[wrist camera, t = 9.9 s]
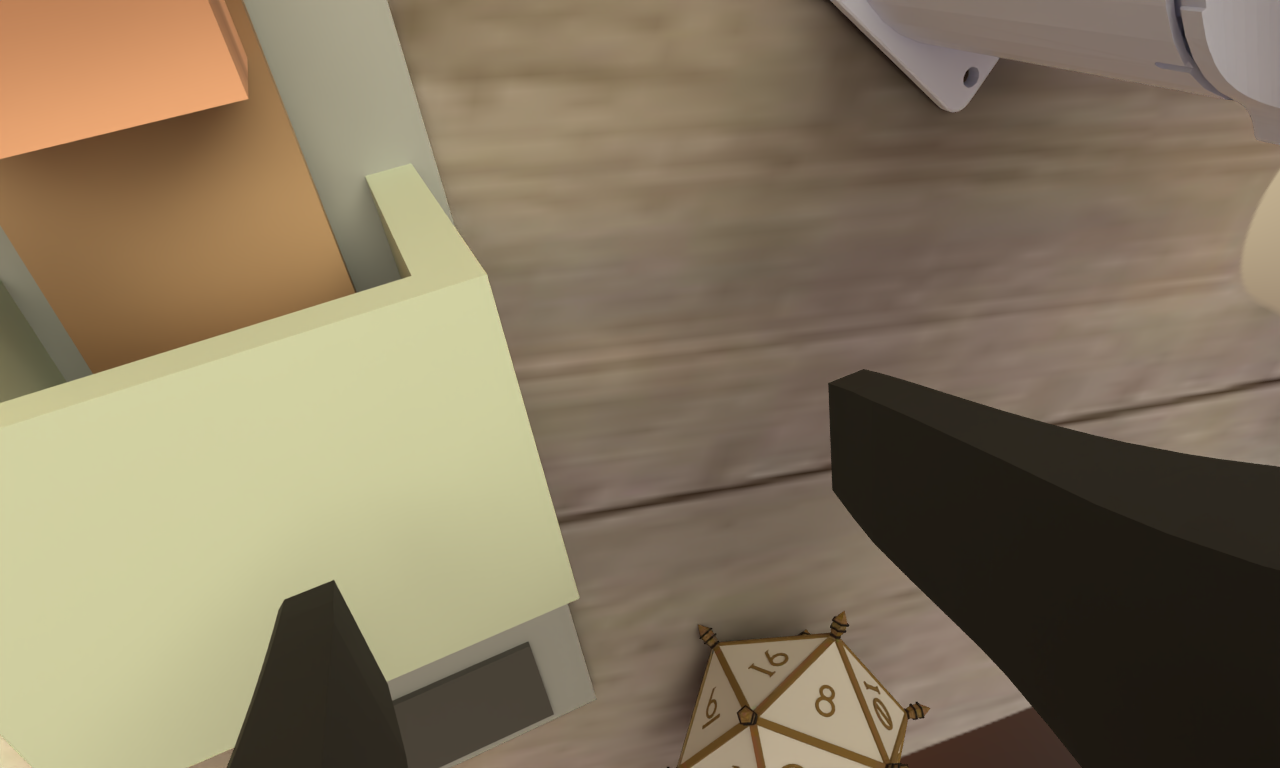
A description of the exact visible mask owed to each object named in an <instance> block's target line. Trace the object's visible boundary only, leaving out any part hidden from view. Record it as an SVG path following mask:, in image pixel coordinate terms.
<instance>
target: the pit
mask: <svg viewBox="0 0 1280 768" xmlns="http://www.w3.org/2000/svg"><path fill="white" fill-rule="evenodd" d="M392 702H393V706H394V709H395V713H396V717H397V721H398V725H399V729H400V733H401V737H402V741H403V745H404V749H405V753H406V757H407V765H408V768H440V767H442V766H444V765H447V764H449V763H451V762H453V761H455V760H457V759H460V758H462V757H464V756H466V755H468V754H470V753H472V752H475V751H477V750H479V749H481V748H483V747H485V746H487V745H490V744H492V743H494V742H496V741H498V740H500V739H502V738H505V737H507V736H509V735H511V734H513V733H515V732H517V731H520V730H522V729H524V728H526V727H528V726H530V725H533V724H535V723H537V722H539V721H541V720H543V719H545V718H548V717H550V716H552V715H554V712H553V710H552V707H551V704H550V701H549V698H548V695H547V693H546V690H545V687H544V684H543V681H542V678H541V675H540V673H539V670H538V667H537V664H536V661H535V658H534V655H533V653H532V650H531V647H530V644H529V642H525V643H523V644H521V645H518V646H516V647H514V648H512V649H509V650H507V651H505V652H503V653H500V654H498V655H496V656H493V657H491V658H489V659H487V660H484V661H482V662H480V663H477V664H475V665H473V666H471V667H468V668H466V669H464V670H461V671H459V672H457V673H455V674H452V675H450V676H448V677H445V678H443V679H441V680H439V681H436V682H434V683H432V684H430V685H427V686H425V687H423V688H420V689H418V690H416V691H414V692H411V693H409V694H407V695H404V696H402V697H400V698H398V699H395V700H393V701H392Z"/></svg>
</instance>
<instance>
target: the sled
mask: <svg viewBox="0 0 1280 768" xmlns="http://www.w3.org/2000/svg"><path fill="white" fill-rule="evenodd" d="M0 226H1V227H2V229H3V230H4V232H5V234H6V235H7V237H8V238H9V240H10V242H11V243H12V245H13V246H14V248H15V250H16V251H17V253H18V254H19V256H20V258H21V259H22V261H23V262H24V264H25V266H26V267H27V269H28V271H29V272H30V274H31V275H32V277H33V279H34V280H35V282H36V283H37V285H38V287H39V288H40V290H41V291H42V293H43V295H44V296H45V298H46V299H47V301H48V303H49V304H50V306H51V307H52V309H53V311H54V312H55V314H56V315H57V317H58V319H59V320H60V322H61V323H62V325H63V327H64V328H65V330H66V331H67V333H68V335H69V336H70V338H71V339H72V341H73V343H74V344H75V346H76V347H77V349H78V351H79V352H80V354H81V355H82V357H83V359H84V360H85V362H86V363H87V365H88V367H89V368H90V370H91V371H92V373H93V374H96V373H99V372H102V371H105V370H109V369H112V368H115V367H118V366H122V365H125V364H128V363H131V362H135V361H138V360H141V359H144V358H148V357H151V356H154V355H157V354H160V353H164V352H167V351H170V350H173V349H177V348H180V347H183V346H186V345H190V344H193V343H196V342H199V341H202V340H206V339H209V338H212V337H215V336H219V335H222V334H225V333H228V332H232V331H235V330H238V329H241V328H245V327H248V326H251V325H254V324H257V323H261V322H264V321H267V320H270V319H274V318H277V317H280V316H283V315H287V314H290V313H293V312H296V311H300V310H303V309H306V308H309V307H312V306H316V305H319V304H322V303H325V302H329V301H332V300H335V299H338V298H342V297H345V296H348V295H351V294H355V293H357V292H356V289H355V287H354V284H353V281H352V279H351V276H350V274H349V271H348V269H347V266H346V263H345V261H344V258H343V256H342V253H341V251H340V248H339V245H338V243H337V240H336V238H335V235H334V233H333V230H332V227H331V225H330V222H329V220H328V217H327V214H326V212H325V209H324V207H323V204H322V202H321V199H320V196H319V194H318V191H317V189H316V186H315V184H314V181H313V178H312V176H311V173H310V171H309V168H308V166H307V163H306V160H305V158H304V155H303V153H302V150H301V147H300V145H299V142H298V140H297V137H296V135H295V132H294V129H293V127H292V124H291V122H290V119H289V117H288V114H287V111H286V109H285V106H284V104H283V101H282V99H281V96H280V93H279V91H278V88H277V86H276V83H275V80H274V78H273V75H272V73H271V70H270V68H269V65H268V62H267V60H266V57H265V55H264V52H263V50H262V47H261V44H260V42H259V39H258V37H257V34H256V32H255V29H254V26H253V24H252V21H251V19H250V16H249V13H248V11H247V8H246V6H245V3H244V1H243V0H0Z"/></svg>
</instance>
